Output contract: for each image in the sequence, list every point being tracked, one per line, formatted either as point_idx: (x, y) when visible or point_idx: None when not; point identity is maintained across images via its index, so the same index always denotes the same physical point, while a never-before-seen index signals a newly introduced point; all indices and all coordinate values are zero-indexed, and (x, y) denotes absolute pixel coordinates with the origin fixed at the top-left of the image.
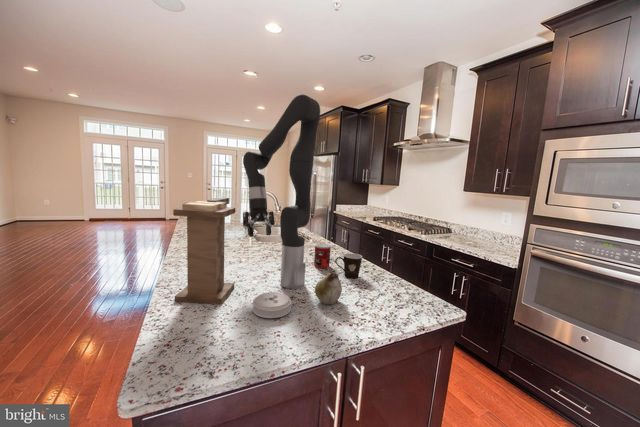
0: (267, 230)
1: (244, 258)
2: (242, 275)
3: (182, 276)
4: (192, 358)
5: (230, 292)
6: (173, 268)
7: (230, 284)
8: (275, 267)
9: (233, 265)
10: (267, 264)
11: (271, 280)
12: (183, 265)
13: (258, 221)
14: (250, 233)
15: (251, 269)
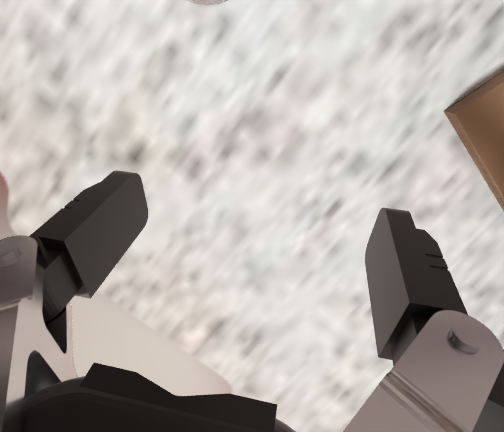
0: (111, 235)
1: (184, 343)
2: (309, 210)
3: None
4: None
5: (500, 73)
6: None
7: (480, 111)
8: None
9: (263, 315)
10: (146, 240)
11: (251, 65)
12: None
13: (244, 402)
14: (429, 247)
15: (235, 239)
